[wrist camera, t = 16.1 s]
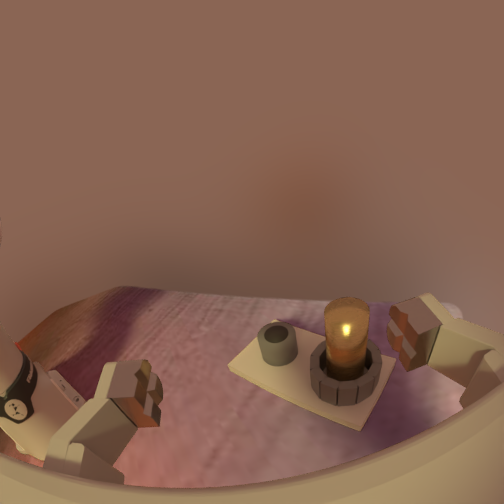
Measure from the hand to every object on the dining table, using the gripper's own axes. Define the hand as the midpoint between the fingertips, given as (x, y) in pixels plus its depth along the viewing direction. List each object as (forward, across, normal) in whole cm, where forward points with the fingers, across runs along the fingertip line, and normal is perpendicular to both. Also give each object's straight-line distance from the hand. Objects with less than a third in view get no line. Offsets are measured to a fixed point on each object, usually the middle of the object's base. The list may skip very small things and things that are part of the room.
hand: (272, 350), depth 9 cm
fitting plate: (+20, -5, +28) cm, 34 cm away
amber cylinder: (+15, -9, +26) cm, 32 cm away
